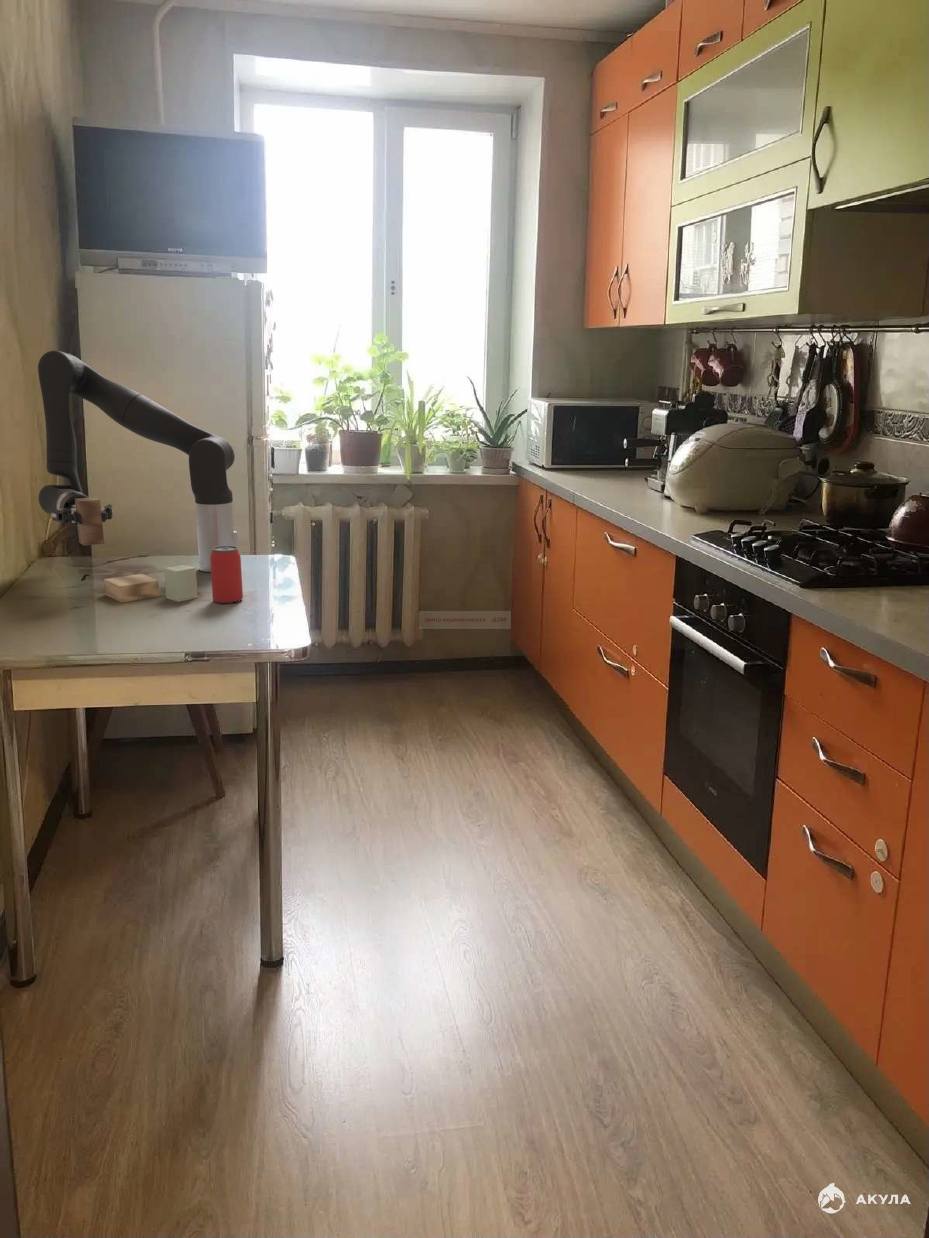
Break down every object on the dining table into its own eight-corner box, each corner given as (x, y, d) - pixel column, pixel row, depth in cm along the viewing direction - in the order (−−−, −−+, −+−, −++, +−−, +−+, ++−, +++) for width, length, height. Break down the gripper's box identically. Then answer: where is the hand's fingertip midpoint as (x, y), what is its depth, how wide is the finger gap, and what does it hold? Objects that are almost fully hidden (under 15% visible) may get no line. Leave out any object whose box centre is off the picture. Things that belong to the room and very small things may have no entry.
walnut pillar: (99, 540, 231) (95, 497, 228) (104, 543, 227) (100, 499, 225) (79, 542, 229) (74, 498, 226) (83, 545, 225) (79, 501, 222)
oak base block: (143, 590, 236) (142, 573, 235) (159, 597, 229) (158, 580, 228) (105, 596, 230) (104, 579, 229) (121, 603, 224) (119, 586, 223)
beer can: (246, 597, 228) (244, 545, 225) (237, 604, 222) (234, 551, 219) (218, 596, 229) (215, 545, 226) (208, 603, 223) (205, 550, 219)
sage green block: (185, 594, 231) (183, 564, 229) (197, 597, 228) (195, 567, 226) (166, 598, 228) (164, 567, 226) (178, 601, 224) (176, 571, 223)
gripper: (42, 494, 234) (56, 504, 220) (105, 490, 241) (123, 499, 227) (45, 526, 236) (60, 538, 222) (108, 521, 243) (126, 532, 229)
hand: (92, 518), depth 224 cm, fingers closed on walnut pillar, 4 cm apart
